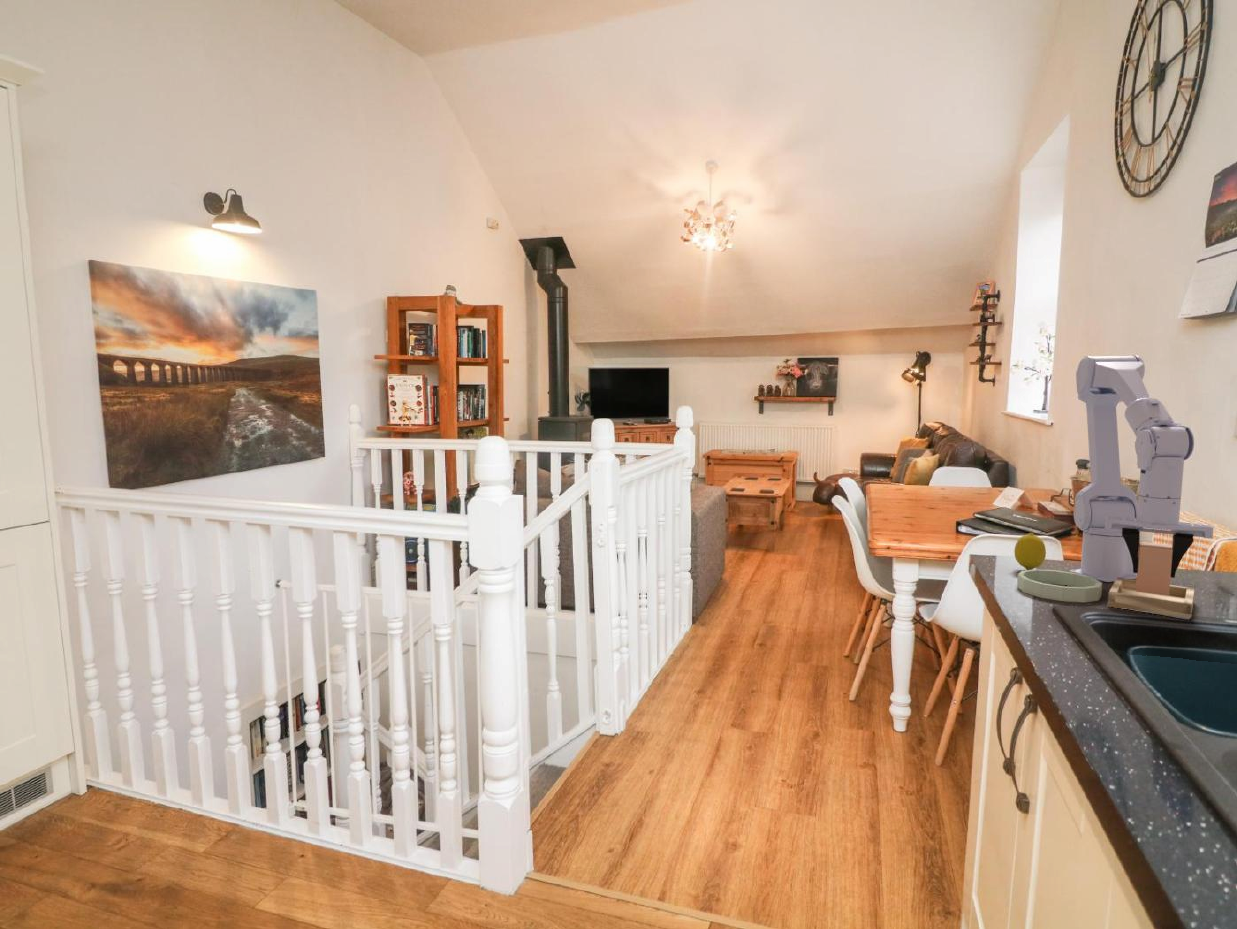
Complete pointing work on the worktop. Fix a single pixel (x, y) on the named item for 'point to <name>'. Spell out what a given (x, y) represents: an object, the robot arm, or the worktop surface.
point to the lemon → (1030, 551)
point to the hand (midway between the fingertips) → (1153, 574)
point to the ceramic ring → (1079, 592)
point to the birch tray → (1151, 599)
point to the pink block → (1154, 568)
